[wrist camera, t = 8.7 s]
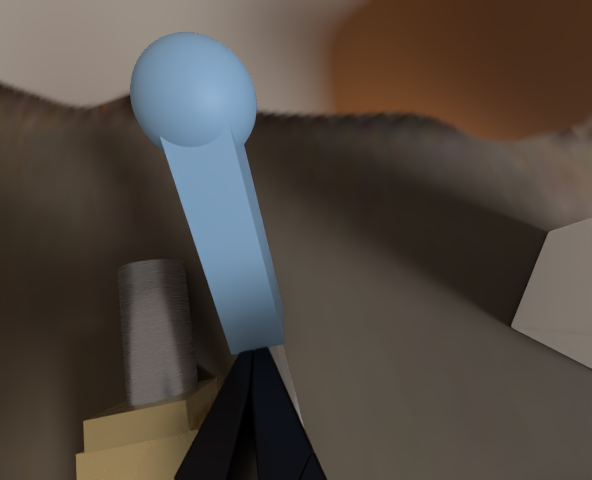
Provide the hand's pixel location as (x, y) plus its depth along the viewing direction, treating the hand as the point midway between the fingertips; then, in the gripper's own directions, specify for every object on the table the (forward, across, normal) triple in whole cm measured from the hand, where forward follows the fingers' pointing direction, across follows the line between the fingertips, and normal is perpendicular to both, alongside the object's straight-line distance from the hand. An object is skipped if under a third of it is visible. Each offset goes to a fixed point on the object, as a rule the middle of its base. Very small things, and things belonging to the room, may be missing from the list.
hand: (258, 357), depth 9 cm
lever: (-1, 0, +9) cm, 9 cm away
